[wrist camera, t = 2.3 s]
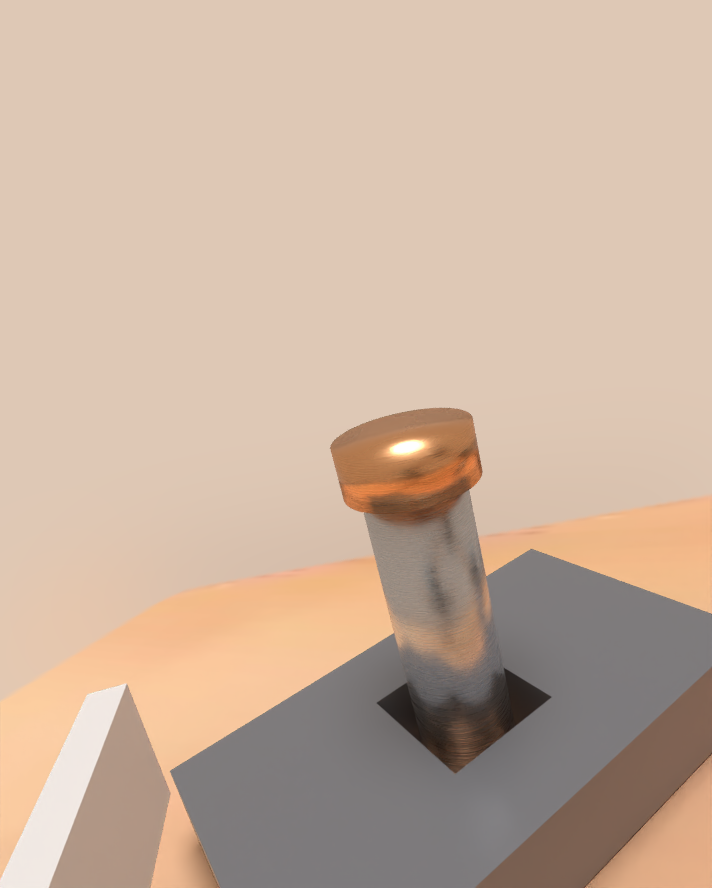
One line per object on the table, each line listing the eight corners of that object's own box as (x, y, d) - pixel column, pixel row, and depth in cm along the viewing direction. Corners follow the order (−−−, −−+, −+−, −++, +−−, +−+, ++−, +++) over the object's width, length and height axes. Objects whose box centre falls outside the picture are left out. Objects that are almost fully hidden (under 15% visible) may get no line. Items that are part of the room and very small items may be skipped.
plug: (479, 711, 29) (413, 403, 25) (565, 774, 25) (504, 414, 20) (395, 774, 27) (305, 446, 22) (474, 855, 23) (382, 469, 18)
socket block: (541, 606, 36) (531, 548, 35) (756, 705, 26) (752, 628, 25) (199, 841, 26) (170, 770, 25) (332, 1152, 16) (293, 1056, 15)
